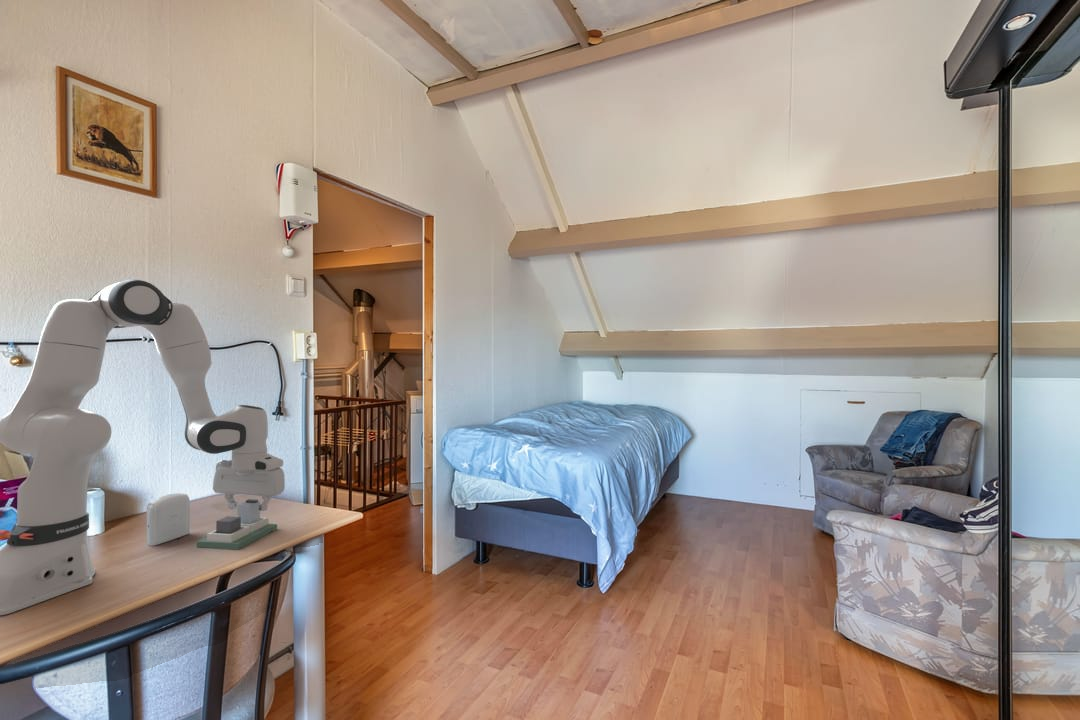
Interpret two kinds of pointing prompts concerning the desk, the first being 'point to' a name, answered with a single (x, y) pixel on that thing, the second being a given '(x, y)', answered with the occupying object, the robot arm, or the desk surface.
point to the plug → (249, 511)
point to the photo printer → (168, 518)
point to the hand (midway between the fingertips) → (247, 509)
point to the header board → (235, 533)
